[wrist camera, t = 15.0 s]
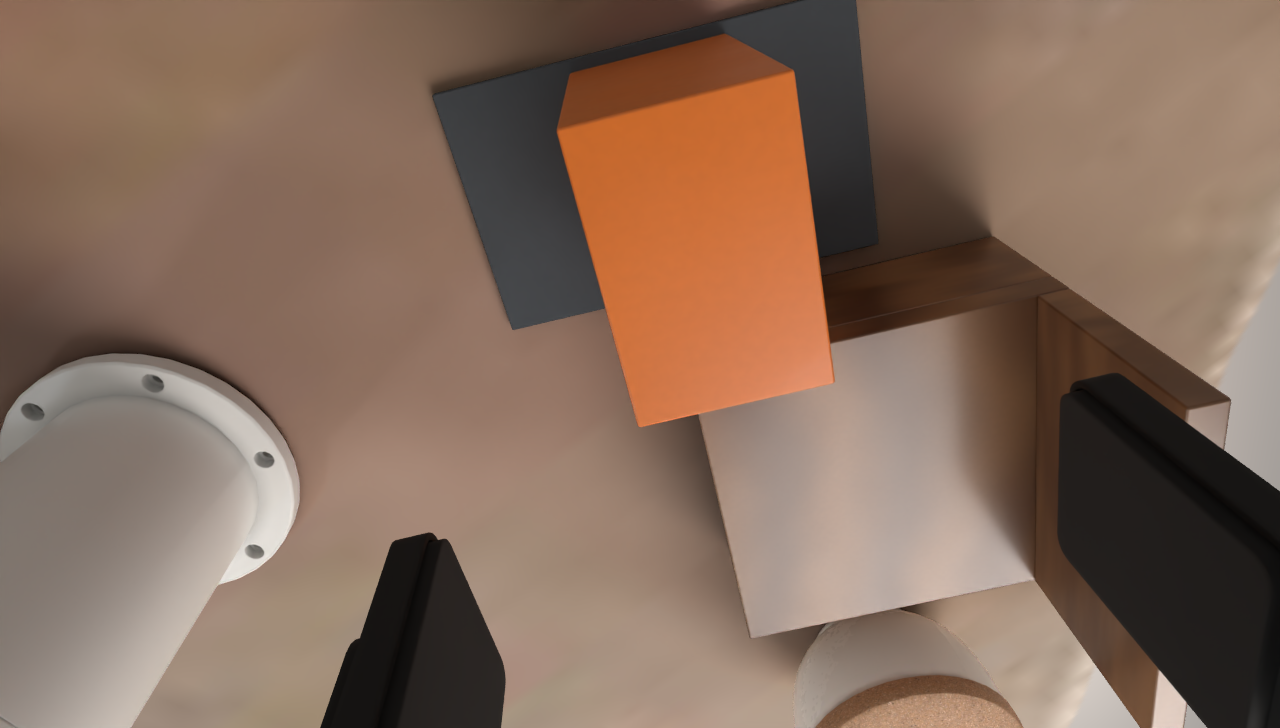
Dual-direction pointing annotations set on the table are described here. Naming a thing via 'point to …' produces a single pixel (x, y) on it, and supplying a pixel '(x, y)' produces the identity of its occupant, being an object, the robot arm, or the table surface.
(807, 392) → the wooden toy chair
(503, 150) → the mat
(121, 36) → the table surface
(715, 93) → the block
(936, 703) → the trinket box
